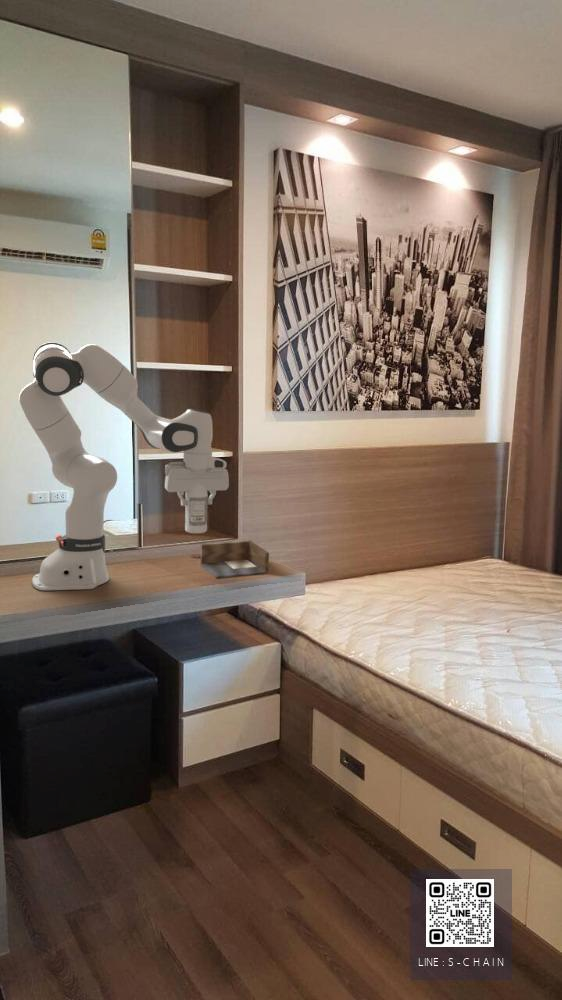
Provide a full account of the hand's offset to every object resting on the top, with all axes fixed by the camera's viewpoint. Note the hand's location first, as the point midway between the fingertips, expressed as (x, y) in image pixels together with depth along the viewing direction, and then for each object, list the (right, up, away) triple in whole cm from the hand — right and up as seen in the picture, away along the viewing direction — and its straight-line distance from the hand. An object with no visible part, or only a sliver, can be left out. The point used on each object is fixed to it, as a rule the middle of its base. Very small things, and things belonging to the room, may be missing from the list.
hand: (196, 504), depth 227 cm
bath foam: (0, -9, +2) cm, 9 cm away
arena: (+11, -21, +12) cm, 27 cm away
